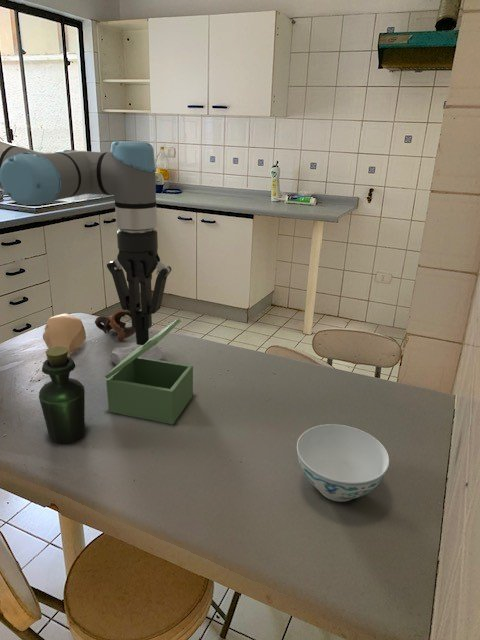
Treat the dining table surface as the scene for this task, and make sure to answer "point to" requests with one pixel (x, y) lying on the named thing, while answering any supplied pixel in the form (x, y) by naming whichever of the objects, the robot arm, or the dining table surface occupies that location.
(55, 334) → the squash
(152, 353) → the stone block
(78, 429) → the potion bottle
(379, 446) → the chinaware
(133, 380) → the chest
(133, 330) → the brown curved loop piece
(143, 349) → the chest lid
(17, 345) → the dining table surface
